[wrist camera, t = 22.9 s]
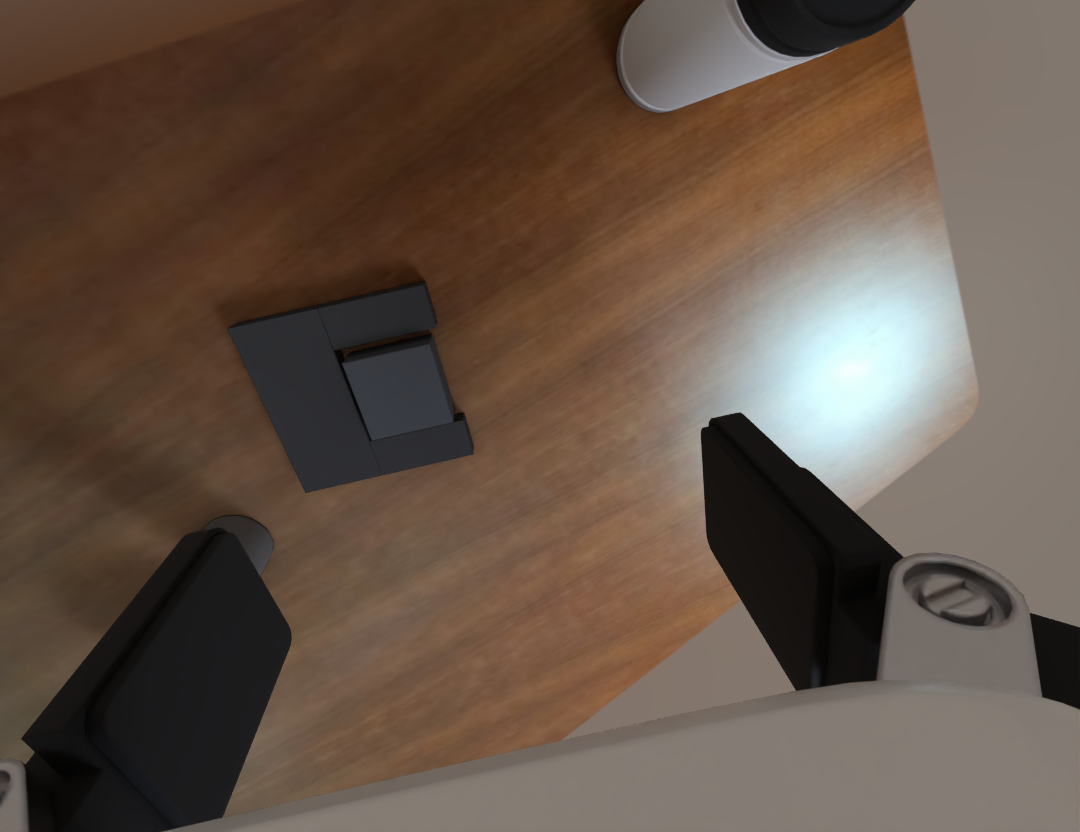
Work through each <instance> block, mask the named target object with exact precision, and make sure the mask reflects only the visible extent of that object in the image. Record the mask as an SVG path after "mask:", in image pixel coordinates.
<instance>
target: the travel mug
mask: <svg viewBox="0 0 1080 832" xmlns="http://www.w3.org/2000/svg"><path fill="white" fill-rule="evenodd" d="M914 1H915V0H644V1H643V3H642V4H641V5H640V6H639V7H638V8H637V9H636V10H635V11H634V13H633V14H632V15H631V16H630V17H629V19H628V20H627V22H626V24H625V26H624V28H623V30H622V32H621V35H620V38H619V42H618V47H617V60H616V64H617V71H618V76H619V79H620V82H621V85H622V87H623V89H624V90H625V92H626V94H627V95H628V96H629V98H630V99H631V100H632V101H633V102H634V103H635V104H637V105H638V106H639V107H641V108H643V109H645V110H647V111H652V112H656V113H659V112H669V111H672V110H676V109H678V108H681V107H684V106H687V105H689V104H692V103H695V102H697V101H700V100H703V99H706V98H708V97H711V96H714V95H716V94H719V93H722V92H725V91H727V90H730V89H733V88H735V87H738V86H741V85H744V84H746V83H749V82H752V81H754V80H757V79H760V78H762V77H765V76H768V75H771V74H773V73H776V72H779V71H781V70H784V69H787V68H790V67H792V66H795V65H798V64H800V63H803V62H806V61H809V60H811V59H813V58H816V57H819V56H822V55H825V54H827V53H829V52H831V51H833V50H835V49H837V48H839V47H841V46H844V45H847V44H850V43H852V42H855V41H858V40H860V39H863V38H866V37H868V36H871V35H873V34H875V33H877V32H879V31H880V30H882V29H884V28H886V27H888V26H889V25H890V24H891V23H893V22H894V21H895V20H896V19H898V18H899V17H900V16H901V15H902V14H903V13H904V12H905V11H906V10H907V9H908V8H909V7H910V6H911V4H912V3H913V2H914Z"/></svg>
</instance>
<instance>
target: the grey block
mask: <svg viewBox="0 0 1080 832" xmlns="http://www.w3.org/2000/svg"><path fill="white" fill-rule="evenodd" d="M342 365H343V367H344V370H345V373H346V375H347V378H348V380H349V383H350V385H351V388H352V391H353V393H354V396H355V398H356V401H357V403H358V406H359V409H360V411H361V414H362V416H363V419H364V421H365V424H366V427H367V429H368V432H369V434H370V437H371V440H377V439H381V438H386V437H390V436H395V435H399V434H403V433H408V432H412V431H416V430H421V429H425V428H430V427H434V426H438V425H443V424H447V423H451V422H453V419H454V410H455V408H454V405H453V401H452V398H451V395H450V391H449V388H448V384H447V381H446V378H445V374H444V371H443V368H442V364H441V361H440V358H439V354H438V351H437V348H436V344H435V341H434V338H433V335H432V334H431V335H427V336H422V337H418V338H413V339H409V340H404V341H400V342H396V343H391V344H387V345H382V346H378V347H373V348H369V349H365V350H360V351H356V352H351V353H350V354H349V355H348V356H347V358H346V359H345V360H344V362H343V363H342Z"/></svg>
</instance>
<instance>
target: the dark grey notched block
mask: <svg viewBox="0 0 1080 832" xmlns="http://www.w3.org/2000/svg"><path fill="white" fill-rule="evenodd" d="M436 325H437V319H436V316H435V313H434V309H433V306H432V302H431V299H430V296H429V292H428V289H427V285H426V282H425V281H422V282H418V283H414V284H409V285H405V286H400V287H396V288H391V289H387V290H382V291H378V292H374V293H369V294H365V295H360V296H356V297H351V298H347V299H342V300H338V301H334V302H329V303H325V304H320V305H316V306H311V307H307V308H302V309H298V310H293V311H289V312H284V313H280V314H276V315H271V316H267V317H262V318H258V319H253V320H249V321H245V322H240V323H236V324H234V325H233V326H231V327H229V328H228V331H229V333H230V336H231V338H232V340H233V342H234V344H235V346H236V348H237V350H238V352H239V354H240V356H241V359H242V361H243V363H244V365H245V367H246V369H247V371H248V373H249V375H250V377H251V380H252V382H253V384H254V386H255V388H256V390H257V392H258V394H259V396H260V398H261V401H262V403H263V405H264V407H265V409H266V411H267V413H268V415H269V417H270V419H271V422H272V424H273V426H274V428H275V430H276V432H277V434H278V436H279V438H280V440H281V443H282V445H283V447H284V449H285V451H286V453H287V455H288V457H289V459H290V461H291V464H292V466H293V468H294V470H295V472H296V474H297V476H298V478H299V480H300V482H301V484H302V487H303V489H304V491H305V493H307V492H312V491H316V490H320V489H325V488H329V487H333V486H338V485H342V484H346V483H351V482H355V481H359V480H364V479H368V478H372V477H377V476H381V475H386V474H390V473H395V472H399V471H403V470H408V469H412V468H416V467H421V466H425V465H429V464H434V463H438V462H442V461H447V460H451V459H455V458H460V457H464V456H468V455H473V450H474V445H473V442H472V439H471V435H470V432H469V428H468V425H467V422H466V418H465V415H464V413H460V414H456V415H454V419H453V422H451V423H447V424H443V425H438V426H434V427H430V428H425V429H421V430H416V431H412V432H408V433H403V434H399V435H395V436H390V437H386V438H381V439H377V440H371V437H370V434H369V432H368V429H367V427H366V424H365V421H364V419H363V416H362V414H361V411H360V409H359V406H358V403H357V401H356V398H355V396H354V393H353V391H352V388H351V385H350V383H349V380H348V378H347V375H346V373H345V370H344V367H343V365H342V363H343V362H344V358H343V356H342V353H341V351H340V349H345V348H349V347H354V346H358V345H362V344H367V343H371V342H376V341H380V340H384V339H389V338H393V337H398V336H402V335H407V334H411V333H415V332H420V331H424V330H429V329H433V328H436Z"/></svg>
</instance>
